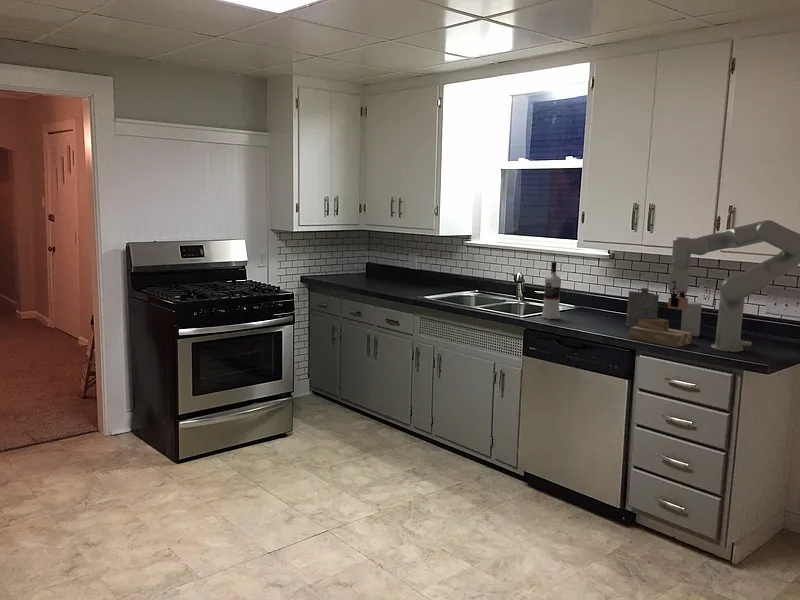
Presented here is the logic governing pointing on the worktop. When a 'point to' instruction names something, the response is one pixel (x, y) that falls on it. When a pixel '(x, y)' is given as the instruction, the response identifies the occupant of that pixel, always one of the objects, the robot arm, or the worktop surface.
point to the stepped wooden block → (659, 332)
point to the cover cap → (679, 303)
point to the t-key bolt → (645, 312)
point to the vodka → (552, 295)
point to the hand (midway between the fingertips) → (677, 305)
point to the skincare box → (691, 318)
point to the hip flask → (640, 300)
